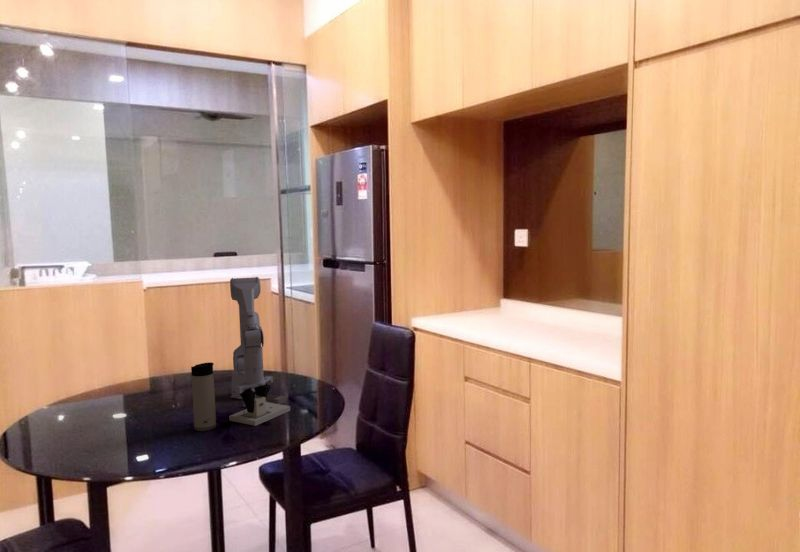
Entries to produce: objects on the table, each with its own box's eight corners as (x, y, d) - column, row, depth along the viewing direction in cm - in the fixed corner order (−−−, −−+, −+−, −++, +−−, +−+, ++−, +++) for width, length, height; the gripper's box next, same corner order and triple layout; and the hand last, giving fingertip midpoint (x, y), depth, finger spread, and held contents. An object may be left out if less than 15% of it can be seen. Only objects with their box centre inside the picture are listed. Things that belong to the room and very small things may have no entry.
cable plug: (265, 412, 185) (265, 405, 185) (260, 411, 186) (259, 404, 186) (286, 403, 194) (286, 396, 194) (281, 402, 195) (281, 395, 195)
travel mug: (210, 432, 165) (206, 365, 164) (190, 431, 167) (186, 365, 165) (221, 424, 171) (217, 360, 170) (201, 423, 173) (198, 360, 171)
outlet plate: (229, 420, 175) (229, 415, 175) (265, 406, 189) (265, 401, 189) (255, 425, 170) (255, 420, 169) (290, 410, 183) (290, 405, 183)
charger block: (247, 417, 175) (246, 398, 175) (256, 413, 179) (256, 395, 178) (257, 419, 173) (256, 400, 173) (266, 415, 177) (265, 397, 176)
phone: (243, 407, 189) (242, 403, 189) (268, 397, 199) (267, 394, 199) (255, 409, 186) (254, 406, 186) (279, 399, 196) (279, 396, 196)
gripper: (246, 374, 167) (248, 418, 168) (279, 363, 179) (281, 405, 180) (229, 372, 170) (231, 415, 171) (263, 361, 183) (264, 402, 184)
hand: (255, 410), depth 176 cm, fingers closed on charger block, 4 cm apart
